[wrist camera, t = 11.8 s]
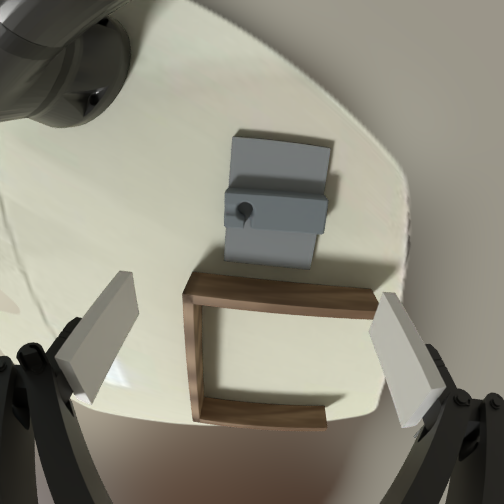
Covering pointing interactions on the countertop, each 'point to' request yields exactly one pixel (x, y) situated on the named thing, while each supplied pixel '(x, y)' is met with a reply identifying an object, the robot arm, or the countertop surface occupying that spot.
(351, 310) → the u-shaped wooden frame
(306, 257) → the slate mat
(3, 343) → the countertop surface
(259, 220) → the bracket
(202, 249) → the countertop surface
